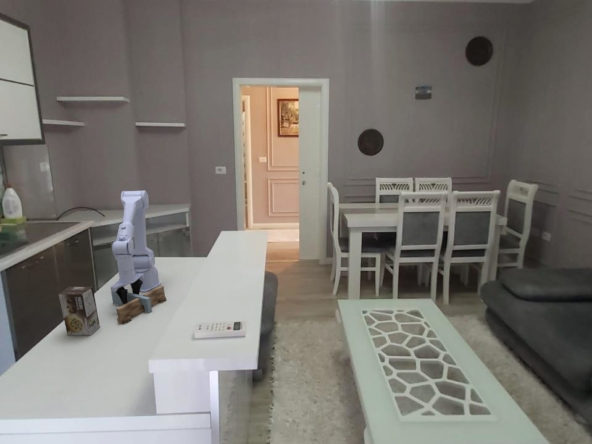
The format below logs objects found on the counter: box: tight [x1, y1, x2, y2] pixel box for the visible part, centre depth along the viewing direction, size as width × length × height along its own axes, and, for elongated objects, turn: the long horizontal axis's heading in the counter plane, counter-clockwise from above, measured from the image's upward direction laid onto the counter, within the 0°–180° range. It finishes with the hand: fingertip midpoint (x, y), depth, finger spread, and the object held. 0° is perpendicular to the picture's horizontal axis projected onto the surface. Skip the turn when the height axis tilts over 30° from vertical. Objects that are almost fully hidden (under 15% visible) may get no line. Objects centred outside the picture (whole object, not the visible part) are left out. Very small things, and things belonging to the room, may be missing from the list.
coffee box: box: [58, 285, 101, 336], centre depth 137 cm, size 9×6×16 cm
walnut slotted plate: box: [115, 285, 167, 325], centre depth 152 cm, size 22×4×6 cm, turn 153°
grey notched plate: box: [110, 290, 153, 314], centre depth 155 cm, size 20×2×6 cm, turn 64°
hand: (130, 300), depth 155 cm, fingers open, 5 cm apart
